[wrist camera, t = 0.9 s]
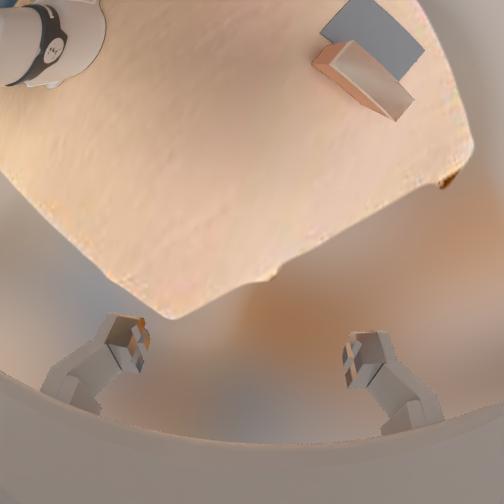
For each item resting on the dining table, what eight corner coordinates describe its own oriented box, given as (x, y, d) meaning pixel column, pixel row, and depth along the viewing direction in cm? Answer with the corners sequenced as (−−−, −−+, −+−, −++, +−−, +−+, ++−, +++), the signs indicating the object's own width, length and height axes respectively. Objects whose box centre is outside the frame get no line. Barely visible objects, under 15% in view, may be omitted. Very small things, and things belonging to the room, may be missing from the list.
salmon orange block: (311, 64, 32) (332, 64, 23) (326, 45, 30) (353, 40, 21) (361, 104, 36) (395, 122, 26) (376, 87, 34) (414, 99, 24)
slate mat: (319, 33, 29) (320, 32, 29) (359, -10, 23) (360, -11, 23) (388, 91, 34) (389, 92, 33) (423, 50, 28) (425, 50, 28)
